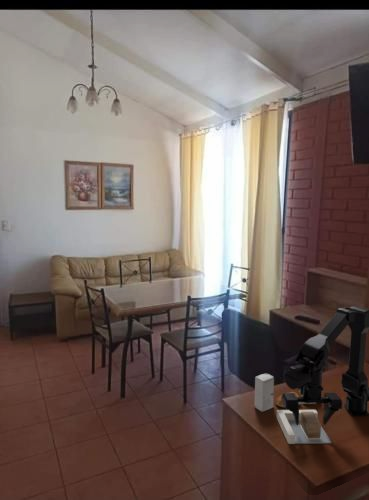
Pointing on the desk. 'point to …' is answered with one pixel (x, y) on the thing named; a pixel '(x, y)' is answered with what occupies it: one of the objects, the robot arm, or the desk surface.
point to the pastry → (279, 401)
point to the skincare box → (264, 392)
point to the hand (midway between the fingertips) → (310, 424)
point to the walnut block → (310, 424)
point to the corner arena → (298, 429)
